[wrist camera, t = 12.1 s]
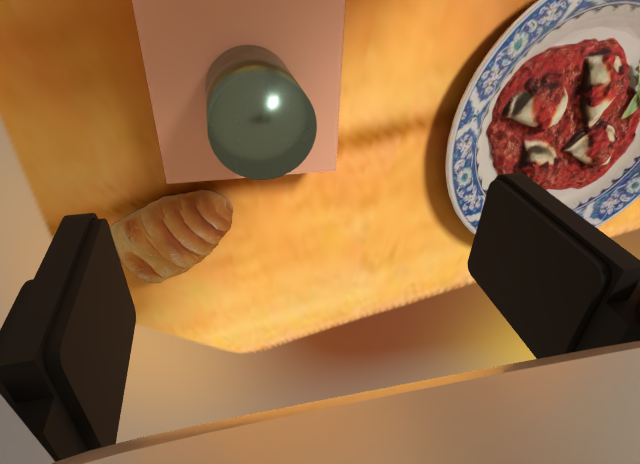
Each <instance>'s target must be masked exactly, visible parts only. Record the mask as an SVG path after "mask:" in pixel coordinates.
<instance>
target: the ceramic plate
mask: <svg viewBox="0 0 640 464" xmlns="http://www.w3.org/2000/svg"><path fill="white" fill-rule="evenodd" d="M445 173H446V183H447V189H448V193H449V197H450V200H451V202H452V205H453V207H454V210H455V212H456V214H457V215H458V217H459V218H460V220H461V221H462V223H463V224H464V225H465V226H466V227H467V228H468V229H469V230H470V231H471V232H472V233H473V234H474V235H475V234H476V230H477V227H478V223H479V219H480V216H481V212H482V209H483V205H484V201H485V198H486V194H487V190H488V187H489V184H490V183H491V182H492V181H494V180H495V178H496V177H497V176H498V175H500V174H509V173H523V174H525V175H527V176H528V177H529V178H531V179H532V180H533V181H535V182H536V183H537V184H539V185H540V186H541V187H543V188H544V189H545V190H547V191H548V192H549V193H551V194H552V195H553V196H555V197H556V198H557V199H559V200H560V201H561V202H563V203H564V204H565V205H567V206H568V207H569V208H571V209H572V210H573V211H575V212H576V213H577V214H579V215H580V216H581V217H583V218H584V219H585V220H587V221H588V222H589V223H591V224H592V225H593V226H595V227H596V228H597V227H599V226H601V225H603V224H604V223H606V222H607V221H609V220H610V219H612V218H614V217H615V216H617V215H618V214H620V213H621V212H622V211H624V210H625V209H626V208H627V207H628V206H630V205H631V204H632V203H633V202H634V201H636V200H637V199H638V198H639V197H640V0H538V1H536V2H535V3H534V4H533V5H531V6H530V7H529V8H528V9H527V10H526V11H525V12H524V13H523V14H521V15H520V16H519V17H518V18H517V19H516V20H515V21H514V22H513V23H512V24H511V25H510V27H509V28H508V29H507V30H506V31H505V32H504V33H503V34H502V35H501V36H500V38H499V39H498V40H497V41H496V43H495V44H494V45H493V47H492V48H491V49H490V50H489V52H488V53H487V55H486V56H485V58H484V59H483V61H482V62H481V64H480V65H479V66H478V68H477V70H476V71H475V73H474V75H473V77H472V78H471V80H470V82H469V84H468V86H467V88H466V90H465V92H464V94H463V96H462V98H461V100H460V103H459V105H458V108H457V111H456V113H455V116H454V119H453V123H452V127H451V130H450V134H449V137H448V144H447V152H446V166H445Z"/></svg>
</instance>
